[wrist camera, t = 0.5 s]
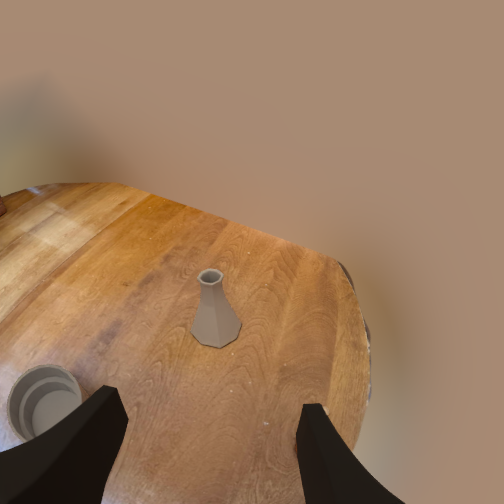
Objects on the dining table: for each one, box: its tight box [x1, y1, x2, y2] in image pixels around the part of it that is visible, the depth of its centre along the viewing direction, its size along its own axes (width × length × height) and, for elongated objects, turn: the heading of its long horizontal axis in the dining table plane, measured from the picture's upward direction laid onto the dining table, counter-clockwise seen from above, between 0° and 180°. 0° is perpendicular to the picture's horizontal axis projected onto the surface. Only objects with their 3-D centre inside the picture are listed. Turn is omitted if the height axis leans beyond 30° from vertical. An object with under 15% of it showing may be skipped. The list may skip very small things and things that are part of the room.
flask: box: [190, 268, 242, 348], centre depth 38 cm, size 7×7×10 cm
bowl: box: [7, 364, 90, 443], centre depth 23 cm, size 12×12×5 cm
